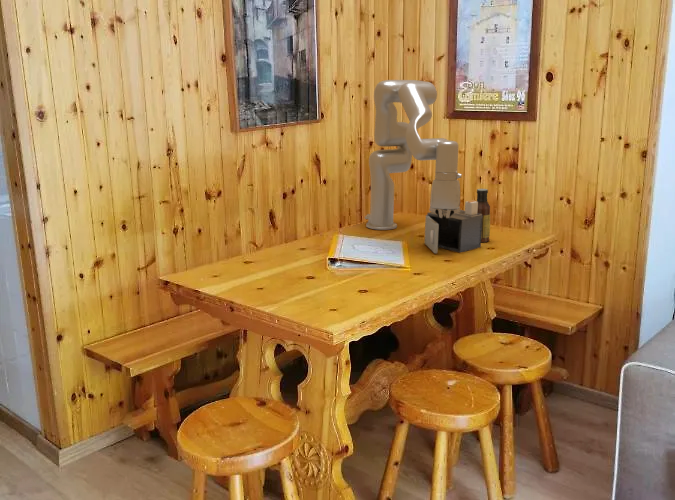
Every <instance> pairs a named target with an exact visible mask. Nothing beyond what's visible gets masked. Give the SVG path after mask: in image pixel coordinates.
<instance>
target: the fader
mask: <svg viewBox="0 0 675 500" xmlns="http://www.w3.org/2000/svg"><path fill="white" fill-rule="evenodd" d="M464 211H465V214H467V215H475V214H477V211H478V202H477V199H472V200H468V201H465V203H464Z"/></svg>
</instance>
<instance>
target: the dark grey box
mask: <svg viewBox="0 0 675 500" xmlns="http://www.w3.org/2000/svg"><path fill="white" fill-rule="evenodd" d="M446 214H447V210H446V209H443V215H444V217H445V216H446ZM426 215H428V216H429V217H430V218H432V219H433V220H434V221H435V222H436V223H438V224H439V230H438V249H439V248H440V249H444V250H446V251H447V250H448V251H452V252H457V253H460V254H461V253H464V252H467V251H468V252H469V251H471V250H475V249H480V248H481V247H482V242H481V234H482V218H483V215H482V214H479V213H477V214H475V215H467V214H465V209H464V210H462V209H460V212H459V213H454V214H452V215H451V216H450V217H449V226H448V227H447V228H446V229H441V228H442V226H440V217H439V216H438V215H437V214H436V213H435V212H431V211H428V212H427V214H426Z"/></svg>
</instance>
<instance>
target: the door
mask: <svg viewBox="0 0 675 500" xmlns="http://www.w3.org/2000/svg"><path fill="white" fill-rule="evenodd" d="M424 223H425V224H424V225H425V228H424V245H426V247H427V248H429V250H431V251H432V252H433V253H434V254H438V250H439V247H438V230H439V224H438V223H436V222H435V221H434V220H433V219H432V218H430V217H429V216H428V215H427V214H426V215H425V222H424Z"/></svg>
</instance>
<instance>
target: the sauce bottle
mask: <svg viewBox="0 0 675 500" xmlns="http://www.w3.org/2000/svg"><path fill="white" fill-rule="evenodd" d="M488 193H489V190H488V189H486V188H478V189H476V194H477V195H476V202H478V211H477V213H479V214H482V215H483V218H482V234H481V243H487V242H489V241H490V236H491V235H490V233H491V205H490V204H489V202H488Z"/></svg>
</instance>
